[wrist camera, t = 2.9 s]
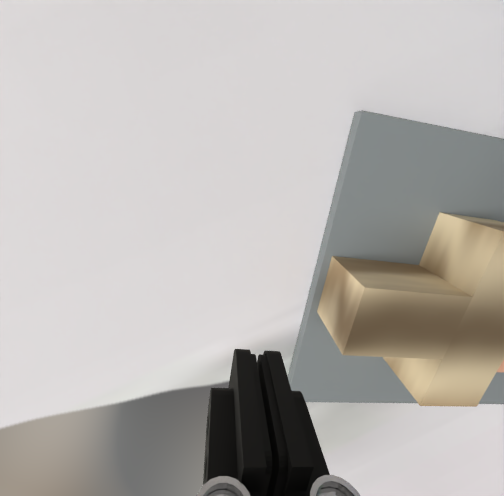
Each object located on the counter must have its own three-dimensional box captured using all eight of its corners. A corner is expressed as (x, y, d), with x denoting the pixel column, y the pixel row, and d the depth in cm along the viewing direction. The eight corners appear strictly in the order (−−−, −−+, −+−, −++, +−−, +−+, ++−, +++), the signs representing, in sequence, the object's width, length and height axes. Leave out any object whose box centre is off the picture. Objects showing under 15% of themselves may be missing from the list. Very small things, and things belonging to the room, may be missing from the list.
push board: (354, 112, 15) (362, 110, 14) (668, 174, 18) (687, 175, 18) (283, 392, 21) (286, 402, 21) (524, 396, 25) (534, 404, 24)
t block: (347, 199, 15) (388, 216, 12) (495, 220, 17) (572, 241, 13) (305, 354, 19) (326, 404, 15) (430, 359, 21) (476, 406, 17)
